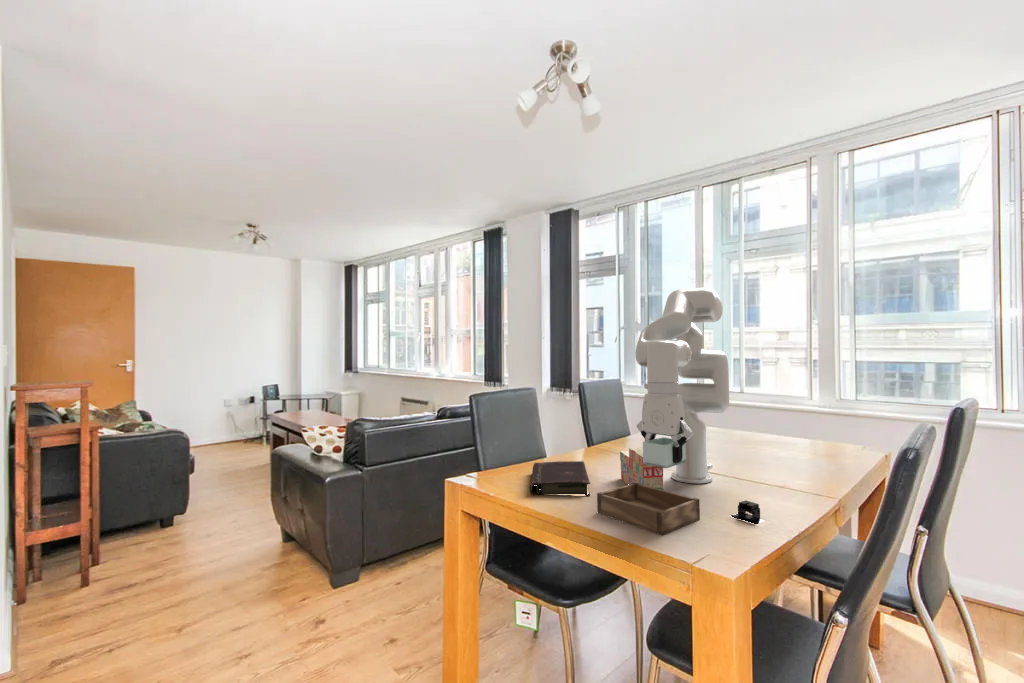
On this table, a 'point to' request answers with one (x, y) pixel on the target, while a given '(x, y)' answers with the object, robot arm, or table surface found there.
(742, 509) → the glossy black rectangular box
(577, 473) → the diary
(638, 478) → the stack of blocks
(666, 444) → the small crate
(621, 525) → the table surface
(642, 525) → the big crate
